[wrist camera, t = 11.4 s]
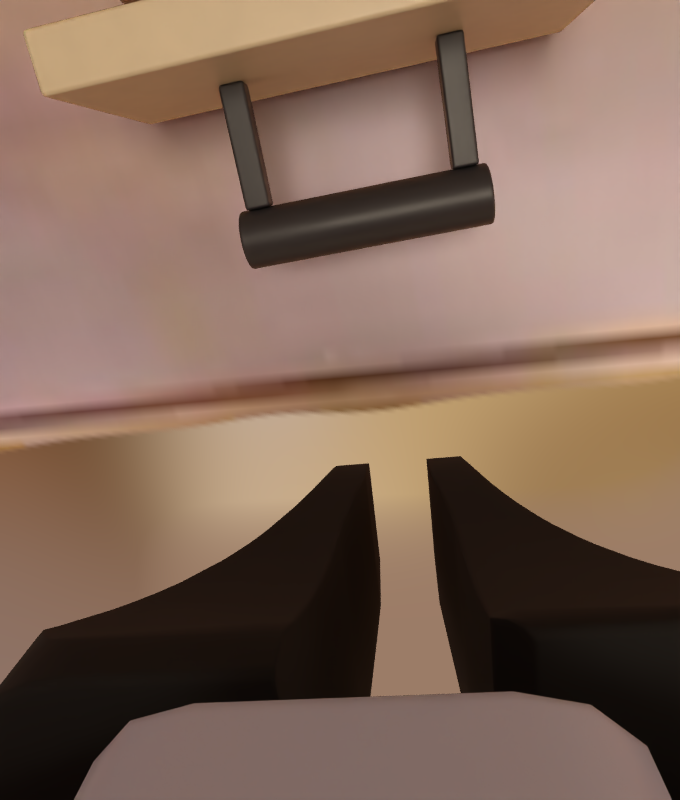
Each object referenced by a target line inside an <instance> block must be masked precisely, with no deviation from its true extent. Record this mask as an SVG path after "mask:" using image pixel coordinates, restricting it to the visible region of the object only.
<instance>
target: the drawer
mask: <svg viewBox="0 0 680 800" xmlns="http://www.w3.org/2000/svg"><path fill="white" fill-rule="evenodd" d="M120 1H122V2H123V3H124V5H120V6H116V7H112V8H108V9H104V10H100V11H96V12H92V13H89V14H85V15H81V16H77V17H73V18H69V19H65V20H61V21H57V22H53V23H49V24H45V25H41V26H37V27H33V28H29V29H26V30H25V31H23V33H24V38H25V41H26V44H27V48H28V51H29V54H30V58H31V61H32V64H33V67H34V71H35V74H36V77H37V80H38V84H39V87H40V90H41V93H42V94H43V96H45V97H48V98H52V99H56V100H60V101H64V102H67V103H71V104H75V105H79V106H83V107H86V108H90V109H94V110H98V111H102V112H105V113H109V114H113V115H117V116H121V117H124V118H128V119H132V120H136V121H139V122H143V123H147V124H154V123H159V122H163V121H168V120H172V119H176V118H181V117H185V116H190V115H194V114H199V113H203V112H207V111H212V110H216V109H221V108H223V110H224V114H225V119H226V123H227V128H228V132H229V136H230V141H231V145H232V150H233V154H234V158H235V163H236V167H237V172H238V176H239V180H240V185H241V189H242V194H243V198H244V202H245V207H246V209H247V210H250V211H245V212H242V213H241V214H240V216H239V232H240V238H241V243H242V247H243V250H244V254H245V256H246V259H247V261H248V263H249V265H250V266H251V267H252V268H254V269H256V268H262V267H267V266H272V265H277V264H283V263H288V262H293V261H299V260H304V259H309V258H314V257H320V256H325V255H330V254H336V253H341V252H346V251H351V250H357V249H362V248H367V247H372V246H378V245H383V244H388V243H394V242H399V241H404V240H409V239H415V238H420V237H425V236H431V235H436V234H441V233H446V232H452V231H457V230H462V229H467V228H473V227H478V226H483V225H489V224H492V223H493V222H494V218H495V199H494V190H493V183H492V178H491V173H490V170H489V167H488V165H487V164H485V163H482V164H478V162H479V159H478V151H477V142H476V133H475V125H474V116H473V107H472V99H471V90H470V81H469V73H468V64H467V55H466V53H469V52H473V51H478V50H482V49H486V48H491V47H495V46H500V45H504V44H509V43H513V42H517V41H522V40H526V39H531V38H535V37H540V36H544V35H548V34H553V33H557V32H560V31H562V30H563V29H564V28H565V27H566V26H567V25H569V24H570V23H571V22H572V21H573V20H574V19H575V18H576V17H577V16H578V15H580V14H581V13H582V12H583V11H584V10H585V9H586V8H587V7H588V6H589V5H590V4H592V3H593V2H594V1H595V0H120ZM433 60H437V64H438V72H439V79H440V87H441V95H442V103H443V111H444V118H445V126H446V134H447V142H448V149H449V157H450V165H451V168H452V170H447V171H442V172H437V173H433V174H428V175H423V176H418V177H413V178H408V179H403V180H398V181H393V182H388V183H383V184H378V185H373V186H368V187H363V188H358V189H353V190H348V191H344V192H339V193H334V194H329V195H324V196H319V197H314V198H309V199H304V200H299V201H294V202H289V203H284V204H279V205H274V206H272V205H273V201H272V196H271V191H270V187H269V182H268V177H267V173H266V168H265V163H264V159H263V154H262V149H261V145H260V140H259V135H258V131H257V126H256V121H255V117H254V112H253V107H252V103H251V102H252V101H256V100H261V99H265V98H269V97H274V96H278V95H283V94H287V93H292V92H296V91H300V90H305V89H309V88H314V87H318V86H323V85H327V84H331V83H336V82H340V81H345V80H349V79H354V78H358V77H362V76H367V75H371V74H376V73H380V72H385V71H389V70H393V69H398V68H402V67H407V66H411V65H416V64H420V63H424V62H429V61H433ZM476 164H477V165H476Z"/></svg>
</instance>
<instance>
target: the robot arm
mask: <svg viewBox="0 0 680 800" xmlns="http://www.w3.org/2000/svg"><path fill="white" fill-rule="evenodd" d="M427 470H428V482H429V494H430V507H431V519H432V531H433V542H434V554H435V565H436V573H437V583H438V592H439V600H440V606H441V610H442V615H443V619H444V623H445V627H446V632H447V636H448V640H449V644H450V649H451V653H452V657H453V662H454V666H455V670H456V674H457V679H458V682H459V687H460V691H461V693H457V694H432V695H431V694H430V695H403V696H378V697H370V695H371V686H372V678H373V669H374V660H375V652H376V643H377V634H378V625H379V616H380V606H381V602H380V601H381V598H380V596H381V593H380V557H379V547H378V539H377V530H376V521H375V513H374V504H373V495H372V486H371V477H370V468H369V464H356V465H344V466H336V467H335V468H333V469H332V470H331V471H330V472H329V473H328V475H327V476H325V477H324V479H323V480H322V481H321V482H320V483H319V484H318V485H317V486H316V487H315V488H314V489H313V490H312V491H311V492H310V493H309V494H308V495H307V496H306V497H305V498H303V500H301V501H300V502H299V503H298V504H297V505H296V506H295V507H294V508H293V509H292V510H291V511H289V512H288V513H287V514H286V515H285V516H283V517H282V518H281V519H280V520H279V521H278V522H276V523H275V524H274V525H273V526H272V527H270V528H269V529H268V530H267V531H266V532H264V533H263V534H262V535H260V536H259V537H258V538H257V539H255V540H253V541H252V542H251V543H249V544H248V545H246V546H245V547H243V548H242V549H240V550H238V551H237V552H235V553H234V554H232V555H231V556H229V557H228V558H226V559H224V560H222V561H221V562H219V563H217V564H215V565H213V566H211V567H209V568H207V569H206V570H203V571H202V572H200V573H198V574H196V575H194V576H192V577H190V578H188V579H186V580H184V581H183V582H181V583H179V584H176V585H174V586H172V587H169V588H167V589H165V590H163V591H160V592H158V593H155V594H153V595H150V596H148V597H145V598H143V599H141V600H138V601H135V602H132V603H130V604H127V605H124V606H122V607H119V608H116V609H113V610H110V611H107V612H104V613H101V614H97V615H94V616H90V617H87V618H84V619H81V620H77V621H74V622H71V623H68V624H64V625H61V626H58V627H54V628H50V629H46V630H43V631H42V633H41V634H40V635H39V636H38V637H37V639H36V640H35V641H34V642H33V644H32V645H31V646H30V647H29V649H28V650H27V651H26V653H25V654H24V655H23V657H22V658H21V659H20V660H19V662H18V663H17V664H16V665H15V667H14V668H13V669H12V670H11V672H10V673H9V674H8V676H7V677H6V678H5V680H4V681H3V682H2V683H1V685H0V800H680V571H676V570H672V569H669V568H664V567H660V566H657V565H654V564H650V563H647V562H644V561H640V560H637V559H634V558H631V557H628V556H625V555H623V554H620V553H617V552H615V551H612V550H609V549H606V548H604V547H601V546H598V545H596V544H593V543H591V542H588V541H586V540H584V539H582V538H579V537H577V536H575V535H573V534H571V533H569V532H567V531H565V530H563V529H561V528H559V527H557V526H555V525H553V524H551V523H549V522H548V521H546V520H544V519H542V518H541V517H539V516H537V515H536V514H534V513H532V512H531V511H529V510H528V509H526V508H525V507H523V506H522V505H520V504H519V503H517V502H515V501H514V500H513V499H511V498H510V497H509V496H507V495H506V494H504V493H503V492H501V491H500V490H499V489H498V488H497V487H495V486H494V485H493V484H491V483H490V482H489V481H488V480H487V479H486V478H484V477H483V476H482V475H481V474H480V473H479V472H478V471H477V470H475V469H474V468H473V467H472V466H471V465H470V464H469V463H468V462H466V461H465V460H464V459H463V458H462V457H461V456H459V457H446V458H433V459H427Z"/></svg>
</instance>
